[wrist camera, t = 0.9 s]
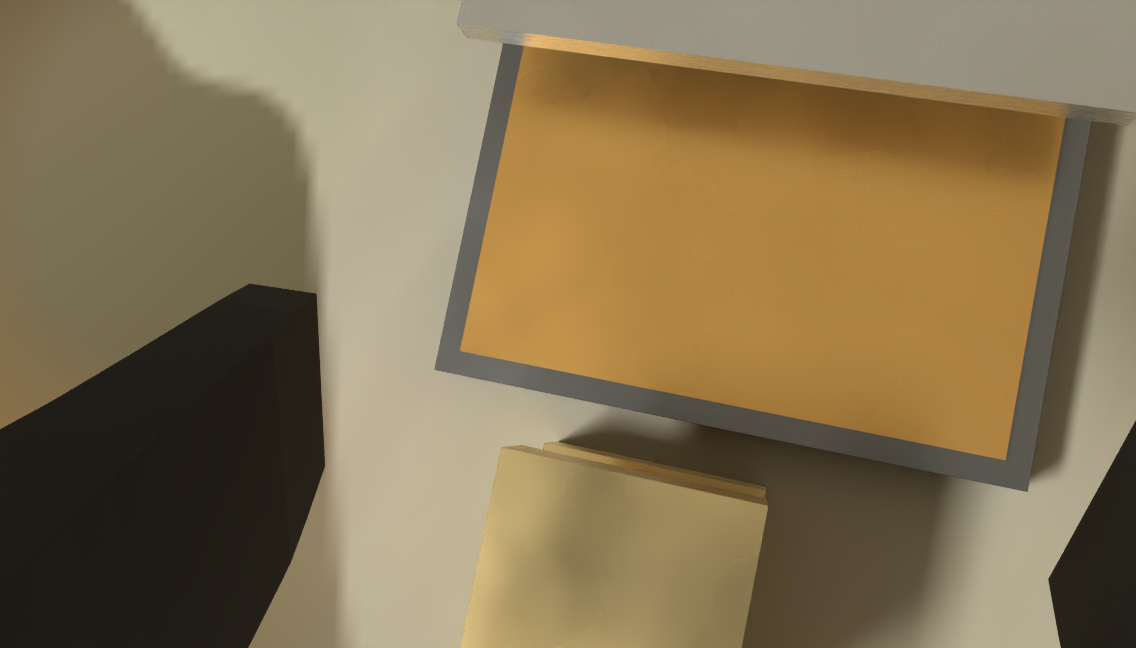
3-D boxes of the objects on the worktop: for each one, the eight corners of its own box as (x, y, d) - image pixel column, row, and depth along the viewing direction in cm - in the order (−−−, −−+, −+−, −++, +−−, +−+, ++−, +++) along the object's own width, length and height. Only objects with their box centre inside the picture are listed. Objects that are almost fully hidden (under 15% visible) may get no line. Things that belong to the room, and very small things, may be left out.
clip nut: (719, 725, 20) (708, 821, 15) (512, 670, 21) (440, 744, 16) (765, 485, 21) (768, 505, 16) (558, 441, 22) (501, 447, 17)
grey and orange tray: (1013, 488, 20) (1075, 504, 16) (448, 371, 22) (384, 361, 18) (1097, 6, 20) (1177, -90, 16) (538, -56, 23) (494, -152, 19)
